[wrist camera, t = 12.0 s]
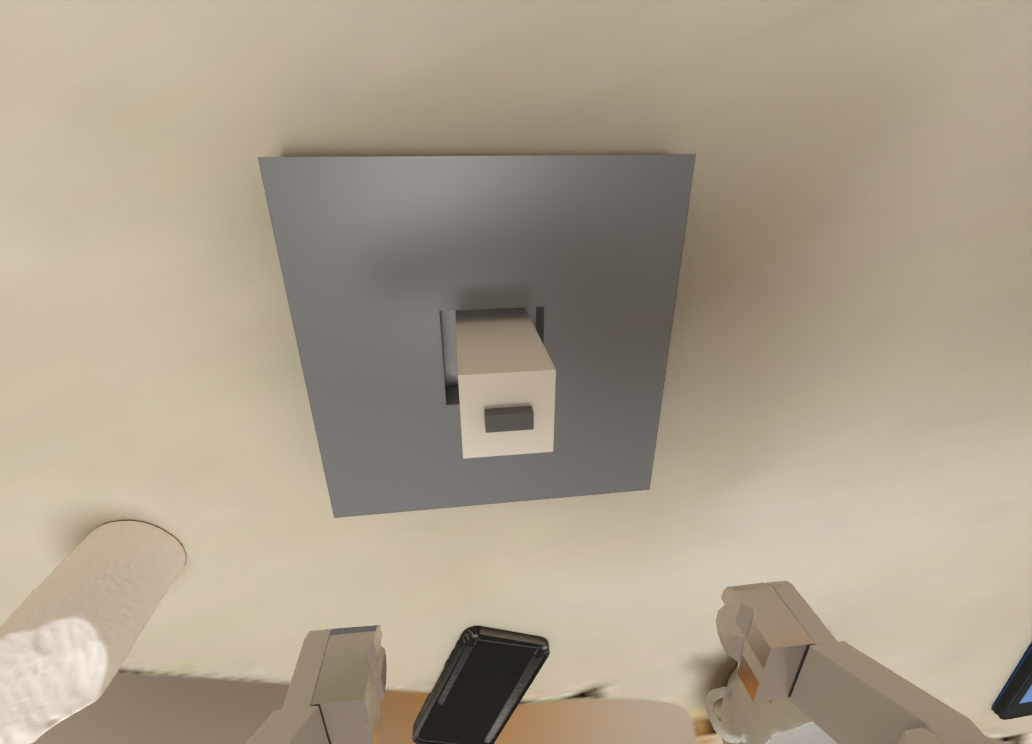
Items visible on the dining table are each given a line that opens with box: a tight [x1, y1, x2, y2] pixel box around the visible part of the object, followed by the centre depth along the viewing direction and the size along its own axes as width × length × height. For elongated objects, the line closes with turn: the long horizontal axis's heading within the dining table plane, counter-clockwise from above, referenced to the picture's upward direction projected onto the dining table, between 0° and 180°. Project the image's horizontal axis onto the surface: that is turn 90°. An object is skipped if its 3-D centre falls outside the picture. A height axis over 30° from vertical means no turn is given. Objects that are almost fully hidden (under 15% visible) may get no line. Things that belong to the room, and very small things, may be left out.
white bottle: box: [0, 521, 186, 744], centre depth 26 cm, size 6×12×6 cm
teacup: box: [705, 667, 838, 744], centre depth 43 cm, size 15×12×8 cm
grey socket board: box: [258, 154, 696, 518], centre depth 27 cm, size 20×20×3 cm
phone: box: [412, 626, 550, 744], centre depth 42 cm, size 8×1×15 cm
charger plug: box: [455, 307, 556, 459], centre depth 24 cm, size 4×4×10 cm
